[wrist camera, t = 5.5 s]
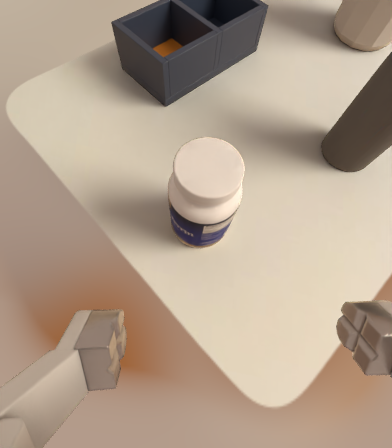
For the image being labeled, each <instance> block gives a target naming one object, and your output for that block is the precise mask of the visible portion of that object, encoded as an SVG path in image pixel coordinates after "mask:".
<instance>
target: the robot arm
mask: <svg viewBox="0 0 392 448" xmlns="http://www.w3.org/2000/svg"><path fill="white" fill-rule="evenodd" d="M341 311H342V313H343V316H342V317H341V318H339V319H338V322H337V326H336V328H337V334H338V337H339V339H340V341H341V342H342V344H343V345H344V347H346V348H348V349H349V350H351V351H352V352H353V359H354V360H355V362H356V363H357V364H358V366H359V367H360V368H361V369H362V371H363V372H364V374H365V375H391V376H390V377H392V303H391V302H389V301H387V300H378V301H358V302H345V303H344V304H343V306H342V309H341ZM123 321H124V313H123V310H79V311H77V312H76V313H75V314H74V316H73V318H72V320H71V322H70V324H69V325H68V327H67V329H66V331H65V332H64V334H63V336H62V338H61V339H60V341H59V343H58V345H57V347H56V349H55V350H53V351H49V352H47V353H46V354H45V355H43V356H42V357H41V358H39V359H38V360H37V361H35V362H34V363H32V364H31V365H30V366H28V367H27V368H26V369H25V370H23V371H22V372H20V373H19V374H18V375H16V376H15V377H14V378H12V379H11V380H10V381H8V382H7V383H6V384H4V385H3V386H2V387H0V448H43V447H44V445H45V444H46V443H47V442H48V440H49V439H50V438H51V437H52V436H53V435H54V433H55V432H56V431H57V430H58V429H59V427H60V426H61V425H62V424H63V423H64V421H65V420H66V419H67V418H68V417H69V415H70V414H71V413H72V412H73V411H74V409H75V408H76V407H77V406H78V405H79V403H80V402H81V401H82V400H83V399H84V397H85V396H86V395H87V393H88V391H93V390H104V389H115V388H116V385H117V381H118V378H119V374H120V370H121V367H120V360H121V359H122V358H123V357H124V353H125V347H126V328H125V327H124V326H123Z"/></svg>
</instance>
